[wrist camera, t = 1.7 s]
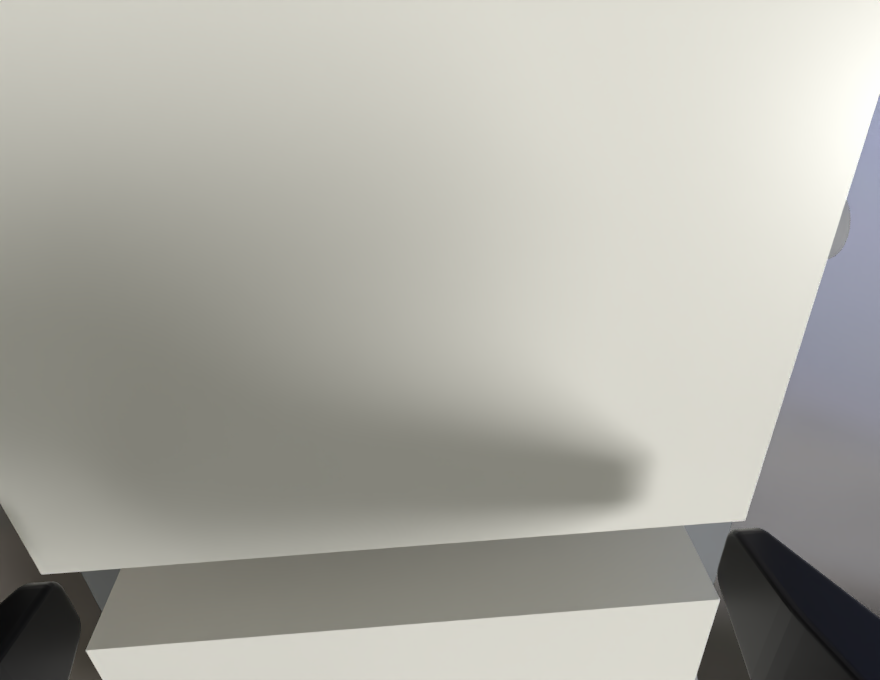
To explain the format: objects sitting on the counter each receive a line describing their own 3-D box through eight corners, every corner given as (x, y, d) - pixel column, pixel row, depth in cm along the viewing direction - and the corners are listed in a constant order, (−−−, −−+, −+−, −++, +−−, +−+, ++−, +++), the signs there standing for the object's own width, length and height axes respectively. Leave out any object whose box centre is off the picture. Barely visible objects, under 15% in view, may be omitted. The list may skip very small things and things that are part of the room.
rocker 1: (722, 420, 12) (788, 517, 10) (63, 467, 12) (-6, 578, 10) (877, -184, 7) (1062, -232, 5) (-230, -139, 7) (-487, -171, 5)
